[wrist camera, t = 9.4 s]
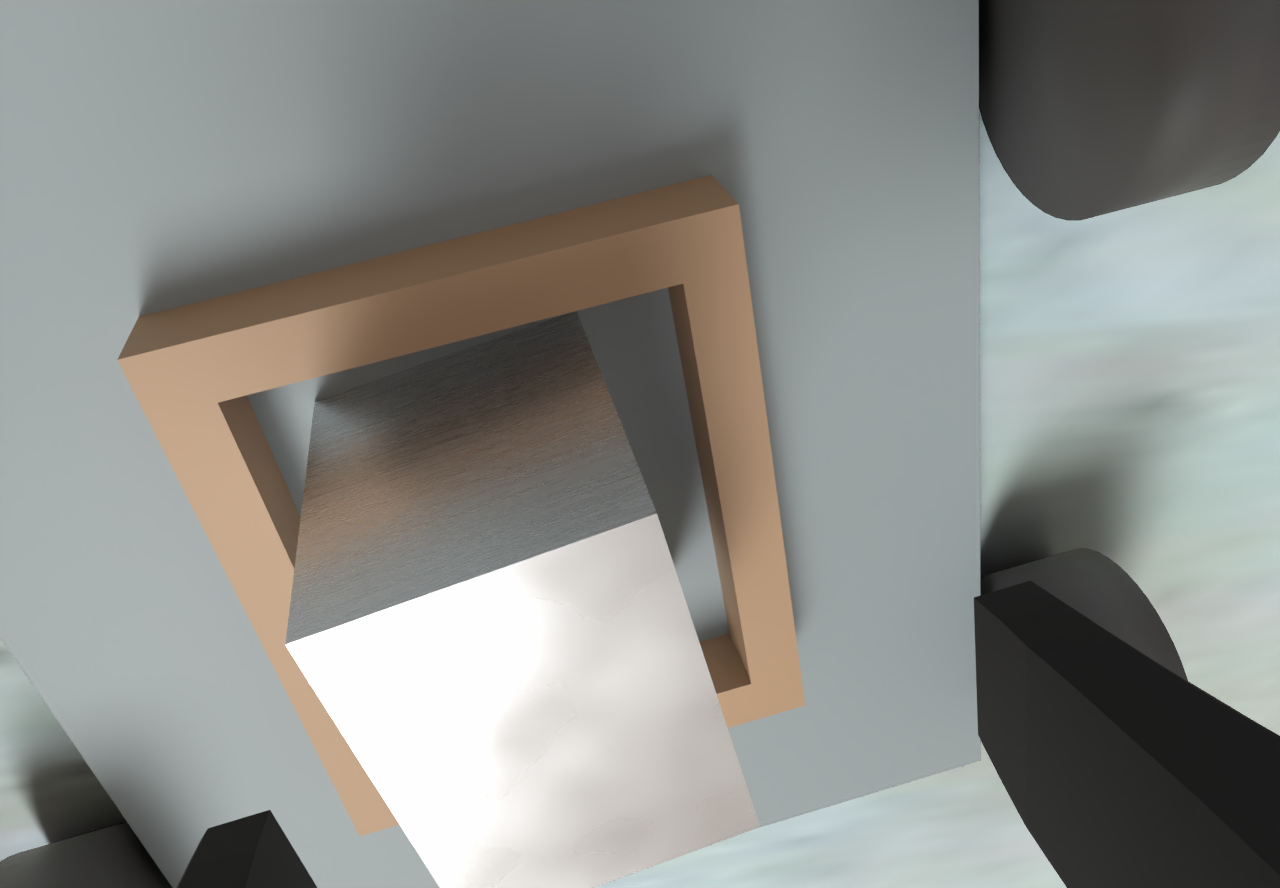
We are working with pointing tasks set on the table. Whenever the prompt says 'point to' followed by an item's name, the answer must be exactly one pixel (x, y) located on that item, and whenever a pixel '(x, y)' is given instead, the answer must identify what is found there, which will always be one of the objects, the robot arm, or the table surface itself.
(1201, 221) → the table surface
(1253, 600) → the table surface
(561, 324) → the block
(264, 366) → the chassis board
